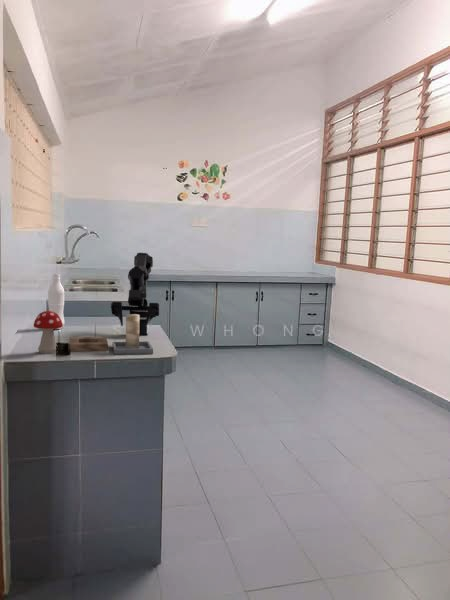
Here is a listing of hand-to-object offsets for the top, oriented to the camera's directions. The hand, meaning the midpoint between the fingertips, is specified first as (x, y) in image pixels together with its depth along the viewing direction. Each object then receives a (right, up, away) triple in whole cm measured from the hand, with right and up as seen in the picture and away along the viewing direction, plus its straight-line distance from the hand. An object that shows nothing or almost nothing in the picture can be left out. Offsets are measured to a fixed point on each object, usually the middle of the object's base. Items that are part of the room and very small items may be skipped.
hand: (133, 326), depth 193 cm
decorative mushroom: (-28, -9, -14) cm, 33 cm away
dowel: (0, -8, -5) cm, 10 cm away
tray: (0, -9, -5) cm, 10 cm away
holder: (-17, -8, -2) cm, 19 cm away
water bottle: (-41, -3, +33) cm, 53 cm away
